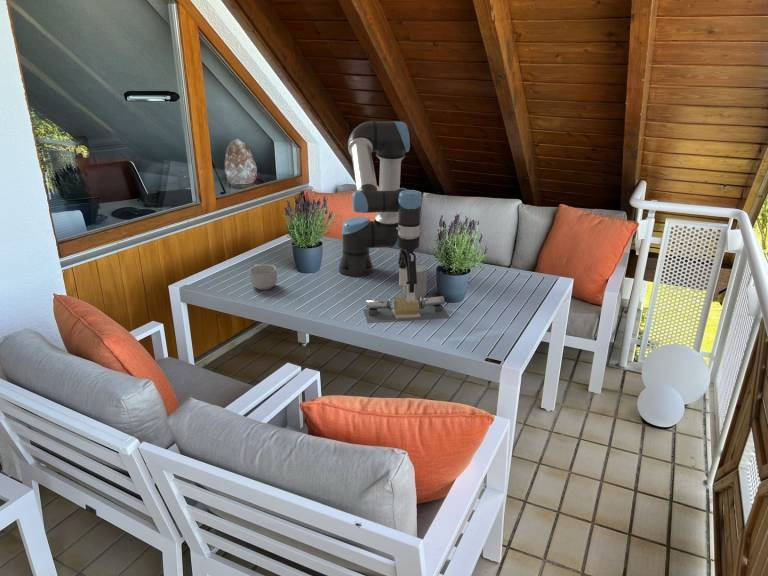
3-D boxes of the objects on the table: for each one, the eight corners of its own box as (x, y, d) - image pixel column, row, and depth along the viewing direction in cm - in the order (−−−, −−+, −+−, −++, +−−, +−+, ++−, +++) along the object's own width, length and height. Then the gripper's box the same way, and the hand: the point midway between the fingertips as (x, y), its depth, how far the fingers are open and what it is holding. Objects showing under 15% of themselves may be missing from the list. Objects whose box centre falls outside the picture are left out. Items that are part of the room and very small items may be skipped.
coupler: (415, 309, 212) (415, 296, 210) (417, 314, 208) (418, 301, 206) (393, 309, 211) (394, 297, 209) (395, 315, 207) (396, 302, 205)
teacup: (279, 290, 232) (278, 271, 230) (252, 293, 229) (251, 274, 226) (272, 278, 244) (271, 260, 242) (247, 281, 241) (245, 263, 238)
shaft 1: (366, 315, 208) (366, 301, 206) (366, 310, 212) (366, 296, 210) (391, 315, 208) (391, 301, 206) (390, 310, 212) (391, 296, 210)
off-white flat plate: (392, 310, 212) (392, 309, 212) (416, 309, 214) (416, 307, 214) (395, 318, 206) (395, 316, 206) (420, 316, 207) (420, 315, 207)
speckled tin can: (398, 294, 230) (399, 265, 226) (420, 291, 234) (421, 262, 229) (407, 303, 222) (408, 273, 218) (430, 299, 225) (431, 270, 221)
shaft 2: (439, 306, 216) (440, 292, 214) (444, 311, 213) (445, 296, 210) (417, 309, 213) (418, 295, 211) (422, 314, 210) (423, 299, 208)
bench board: (363, 312, 213) (363, 309, 213) (441, 307, 218) (441, 304, 218) (367, 326, 202) (367, 323, 202) (450, 321, 207) (450, 318, 207)
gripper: (391, 225, 210) (390, 279, 218) (405, 248, 187) (403, 307, 195) (411, 225, 211) (409, 278, 219) (427, 247, 188) (424, 306, 197)
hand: (406, 292), depth 207 cm, fingers open, 13 cm apart
